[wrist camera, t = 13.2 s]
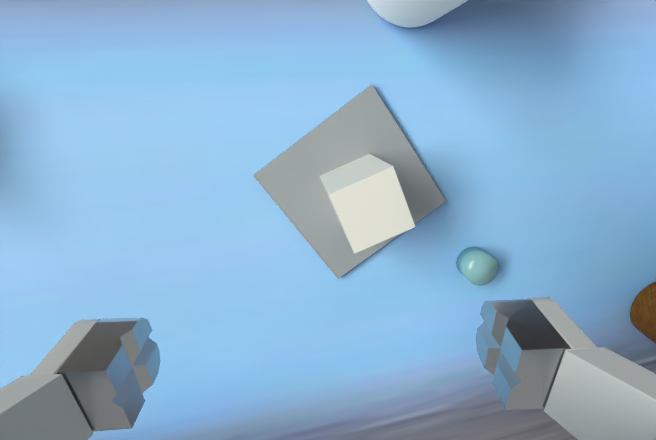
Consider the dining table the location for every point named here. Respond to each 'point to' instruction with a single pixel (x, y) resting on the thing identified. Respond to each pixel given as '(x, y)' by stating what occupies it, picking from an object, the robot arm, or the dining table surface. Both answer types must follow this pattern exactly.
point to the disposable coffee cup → (645, 312)
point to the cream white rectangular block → (367, 201)
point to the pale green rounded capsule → (477, 266)
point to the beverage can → (413, 10)
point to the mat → (333, 152)
